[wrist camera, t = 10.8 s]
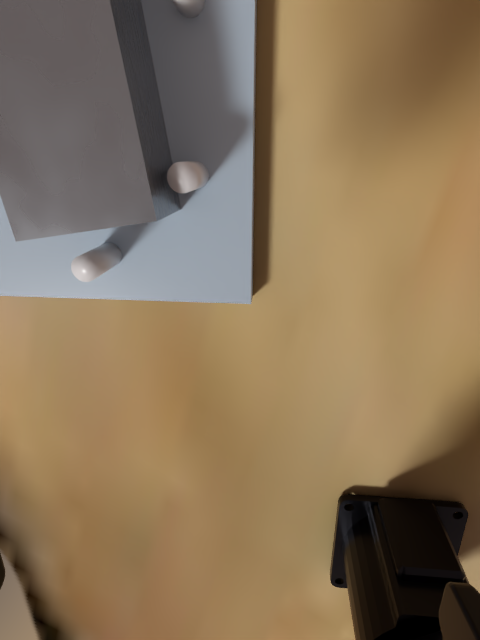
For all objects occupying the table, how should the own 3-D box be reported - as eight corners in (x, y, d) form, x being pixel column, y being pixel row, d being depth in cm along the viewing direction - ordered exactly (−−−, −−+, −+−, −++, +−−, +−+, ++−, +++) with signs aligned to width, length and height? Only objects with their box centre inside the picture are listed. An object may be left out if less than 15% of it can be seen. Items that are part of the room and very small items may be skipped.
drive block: (181, 209, 17) (155, 222, 13) (65, 226, 17) (12, 242, 14) (127, -73, 14) (74, -152, 10) (-11, -38, 14) (-105, -101, 11)
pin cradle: (252, 296, 19) (246, 325, 15) (0, 288, 20) (-55, 314, 16) (259, -193, 13) (251, -311, 10) (-98, -168, 14) (-213, -268, 11)
